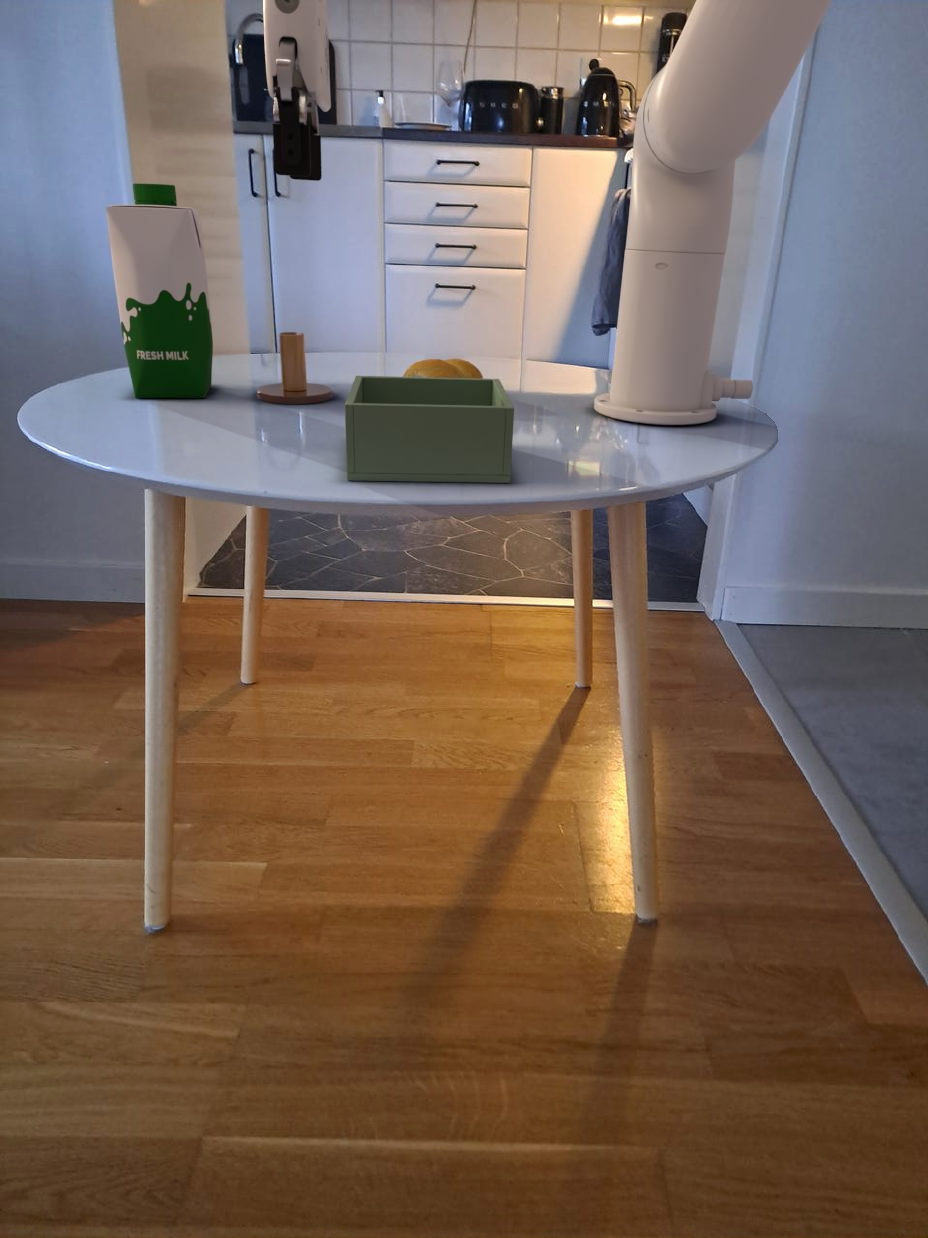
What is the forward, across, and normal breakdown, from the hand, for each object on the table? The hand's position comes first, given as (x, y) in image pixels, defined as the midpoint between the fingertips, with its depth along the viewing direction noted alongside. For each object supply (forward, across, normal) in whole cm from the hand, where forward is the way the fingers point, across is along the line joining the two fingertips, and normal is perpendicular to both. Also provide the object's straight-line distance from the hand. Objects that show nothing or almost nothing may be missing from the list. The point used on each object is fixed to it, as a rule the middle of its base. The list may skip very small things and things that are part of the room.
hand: (299, 177), depth 80 cm
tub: (+21, -25, -13) cm, 35 cm away
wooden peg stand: (+21, +1, +1) cm, 21 cm away
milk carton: (+21, +2, +14) cm, 26 cm away
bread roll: (+21, +4, -15) cm, 26 cm away
